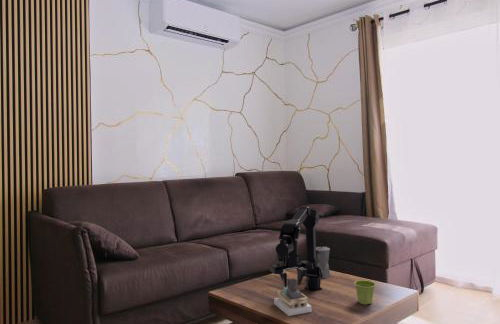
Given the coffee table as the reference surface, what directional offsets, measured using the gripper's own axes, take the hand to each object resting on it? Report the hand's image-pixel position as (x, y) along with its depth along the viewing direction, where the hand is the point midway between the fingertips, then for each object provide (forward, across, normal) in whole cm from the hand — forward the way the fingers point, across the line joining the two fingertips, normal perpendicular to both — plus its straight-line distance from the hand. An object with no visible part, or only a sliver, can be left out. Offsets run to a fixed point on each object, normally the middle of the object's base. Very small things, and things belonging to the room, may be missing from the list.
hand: (292, 286), depth 179 cm
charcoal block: (+4, 0, +3) cm, 6 cm away
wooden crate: (+7, 0, 0) cm, 7 cm away
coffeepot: (+10, -35, -34) cm, 50 cm away
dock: (+10, 0, 0) cm, 10 cm away
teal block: (+4, 0, -3) cm, 6 cm away
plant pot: (+10, -33, +8) cm, 35 cm away
